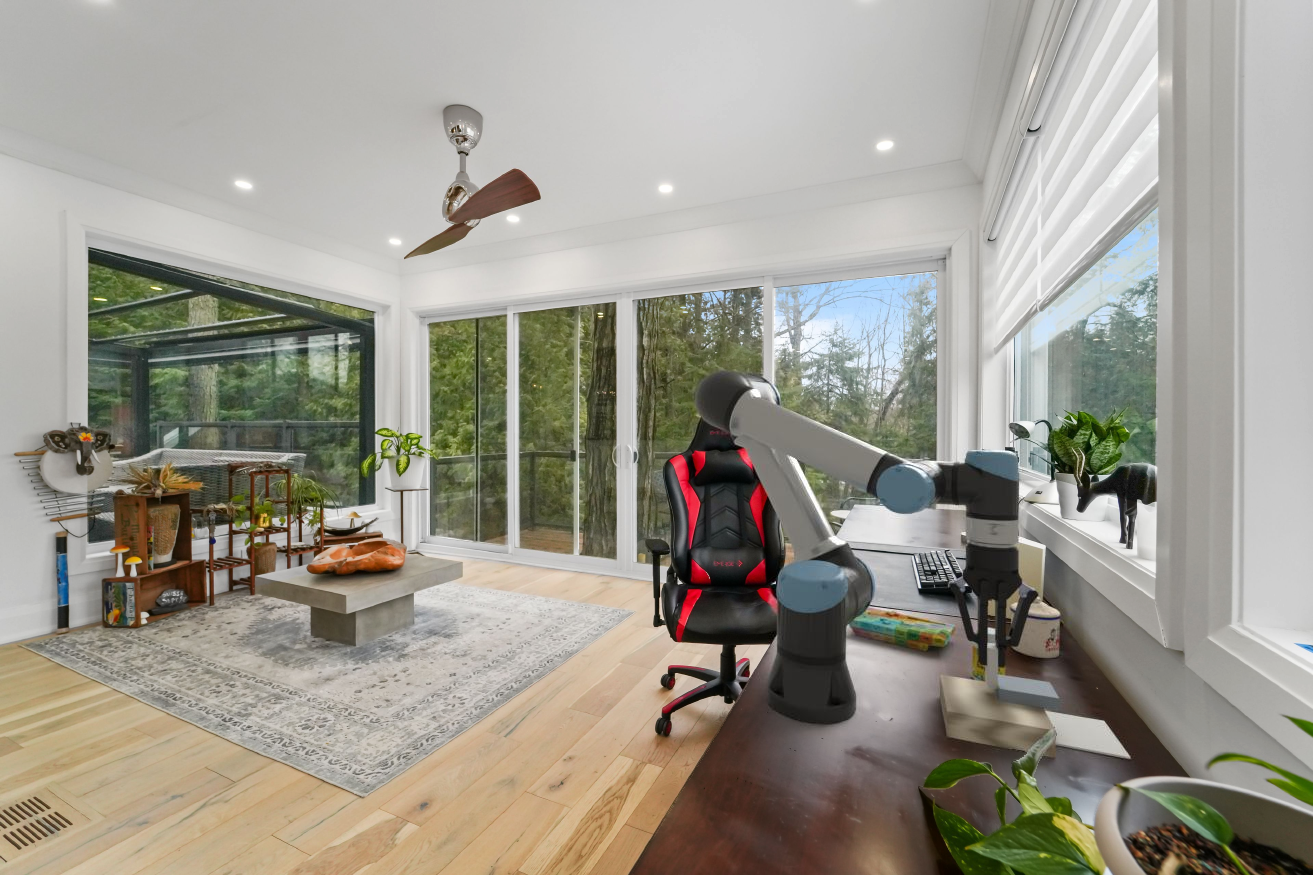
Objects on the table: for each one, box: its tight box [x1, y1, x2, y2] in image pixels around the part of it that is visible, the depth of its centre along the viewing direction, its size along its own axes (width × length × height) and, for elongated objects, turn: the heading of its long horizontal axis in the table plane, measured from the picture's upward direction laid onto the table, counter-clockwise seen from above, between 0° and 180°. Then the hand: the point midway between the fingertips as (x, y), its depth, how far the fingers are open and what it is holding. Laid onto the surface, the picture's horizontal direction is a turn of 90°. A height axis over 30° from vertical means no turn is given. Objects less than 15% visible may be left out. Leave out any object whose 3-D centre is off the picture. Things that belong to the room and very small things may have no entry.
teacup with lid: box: [1009, 596, 1062, 659], centre depth 121 cm, size 12×9×12 cm
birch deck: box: [939, 674, 1057, 759], centre depth 90 cm, size 14×14×4 cm
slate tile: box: [995, 674, 1060, 712], centre depth 91 cm, size 8×6×2 cm
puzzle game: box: [848, 606, 956, 652], centre depth 127 cm, size 12×5×20 cm
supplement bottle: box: [971, 627, 1006, 682], centre depth 106 cm, size 5×5×10 cm
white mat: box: [1045, 710, 1132, 760], centre depth 88 cm, size 10×11×1 cm
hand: (991, 684), depth 92 cm, fingers closed
